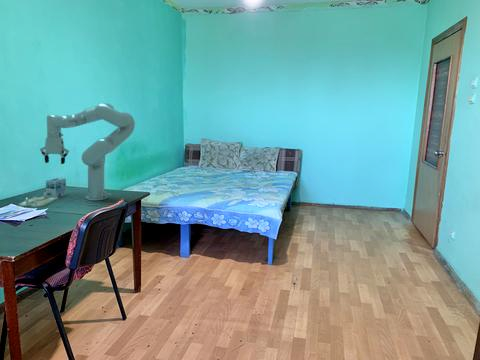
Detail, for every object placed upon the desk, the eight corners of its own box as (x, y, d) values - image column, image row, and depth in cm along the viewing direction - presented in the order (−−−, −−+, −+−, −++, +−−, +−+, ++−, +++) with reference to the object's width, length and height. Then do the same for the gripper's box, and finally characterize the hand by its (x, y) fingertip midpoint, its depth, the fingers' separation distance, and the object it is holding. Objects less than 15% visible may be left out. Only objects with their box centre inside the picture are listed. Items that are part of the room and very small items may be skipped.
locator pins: (51, 198, 222) (50, 192, 221) (36, 204, 206) (36, 198, 205) (40, 197, 221) (40, 191, 221) (25, 204, 206) (24, 198, 205)
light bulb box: (56, 198, 225) (55, 181, 223) (46, 197, 226) (45, 180, 224) (66, 194, 235) (66, 178, 233) (57, 193, 236) (56, 177, 234)
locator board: (58, 199, 223) (58, 197, 223) (42, 207, 205) (42, 205, 205) (35, 198, 223) (35, 196, 222) (17, 205, 205) (17, 203, 205)
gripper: (71, 135, 227) (71, 163, 230) (43, 134, 227) (44, 161, 230) (65, 136, 220) (66, 165, 223) (36, 134, 220) (37, 163, 223)
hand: (54, 163), depth 227 cm, fingers open, 9 cm apart
